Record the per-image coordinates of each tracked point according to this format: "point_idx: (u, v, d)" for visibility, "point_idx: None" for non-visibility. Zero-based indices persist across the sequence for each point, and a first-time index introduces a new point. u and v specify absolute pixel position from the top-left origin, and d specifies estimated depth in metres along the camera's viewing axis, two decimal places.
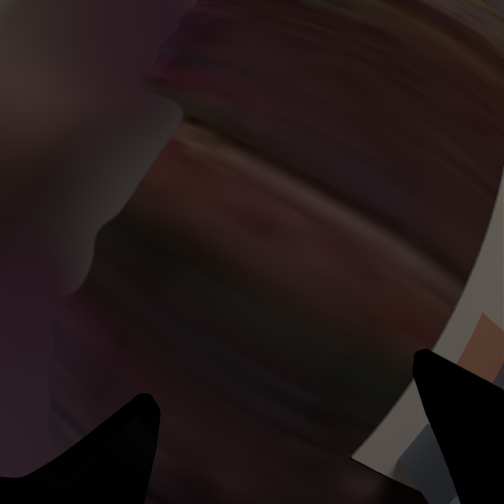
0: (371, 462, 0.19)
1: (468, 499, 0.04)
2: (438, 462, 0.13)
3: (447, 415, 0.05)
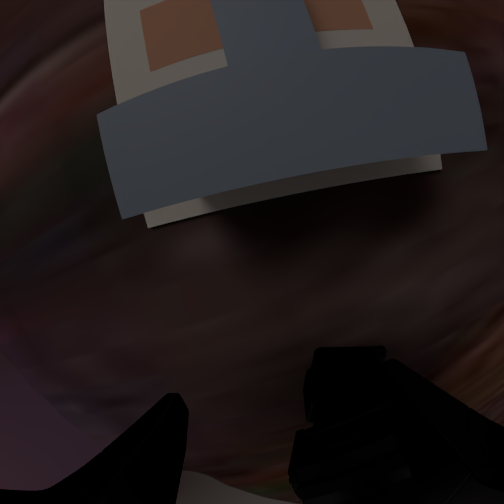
0: (170, 214, 0.20)
1: None
2: None
3: (410, 429, 0.06)
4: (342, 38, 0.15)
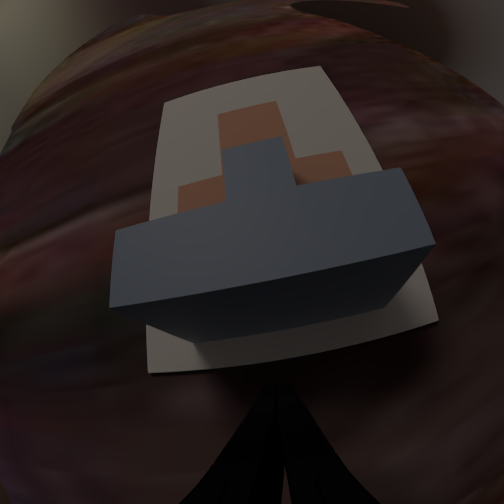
0: (169, 365, 0.20)
1: None
2: None
3: None
4: None
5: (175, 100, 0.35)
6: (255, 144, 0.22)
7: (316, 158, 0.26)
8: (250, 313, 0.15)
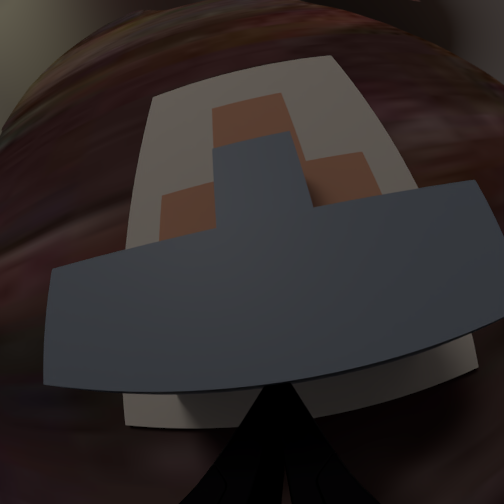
0: (149, 419, 0.15)
1: None
2: None
3: None
4: None
5: (165, 94, 0.30)
6: (255, 141, 0.17)
7: (331, 161, 0.20)
8: None
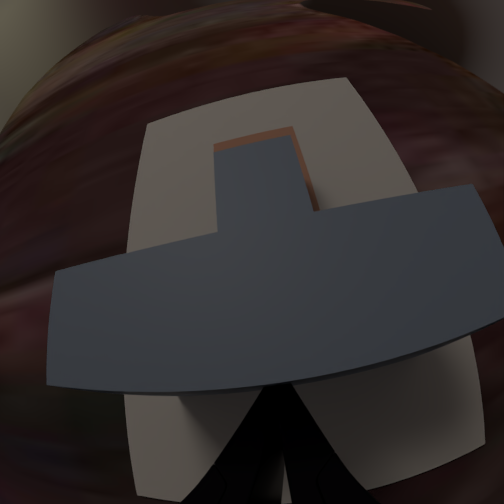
0: (161, 493, 0.13)
1: None
2: None
3: None
4: None
5: (160, 121, 0.28)
6: (256, 145, 0.17)
7: None
8: None
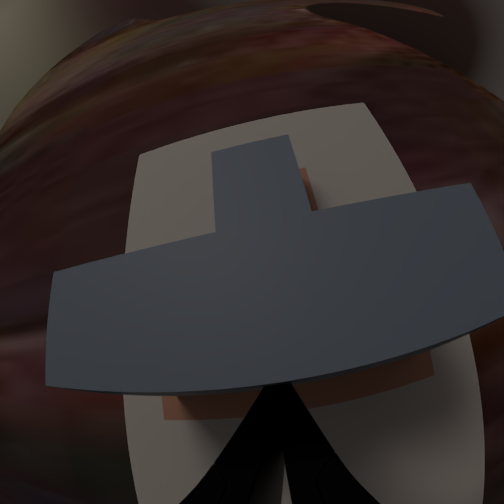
0: None
1: None
2: None
3: None
4: (395, 401, 0.13)
5: (154, 152, 0.26)
6: (254, 145, 0.17)
7: None
8: None
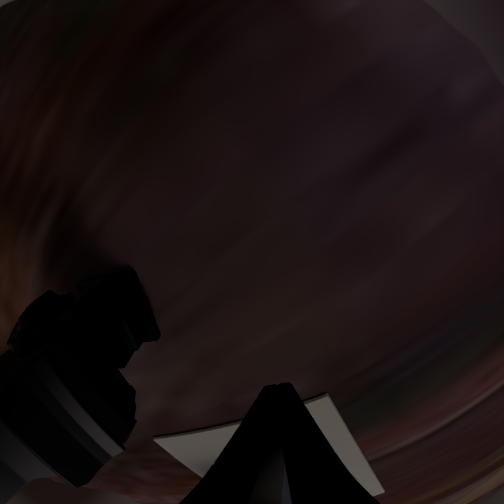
0: (310, 405, 0.25)
1: None
2: None
3: None
4: None
5: (375, 494, 0.33)
6: None
7: None
8: None
